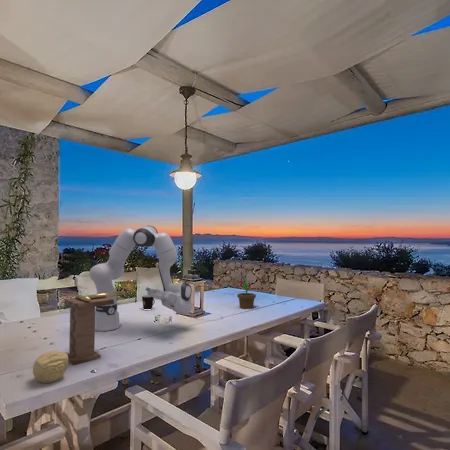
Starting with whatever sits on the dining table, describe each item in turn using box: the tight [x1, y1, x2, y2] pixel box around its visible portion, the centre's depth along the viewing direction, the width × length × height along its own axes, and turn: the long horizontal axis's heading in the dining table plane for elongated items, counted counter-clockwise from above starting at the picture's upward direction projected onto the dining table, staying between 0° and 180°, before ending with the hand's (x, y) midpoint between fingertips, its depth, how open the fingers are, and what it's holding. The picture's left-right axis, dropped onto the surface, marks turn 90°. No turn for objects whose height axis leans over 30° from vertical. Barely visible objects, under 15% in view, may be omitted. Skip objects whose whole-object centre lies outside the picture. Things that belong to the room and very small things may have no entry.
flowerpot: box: [236, 268, 257, 310], centre depth 262 cm, size 14×14×30 cm
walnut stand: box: [64, 297, 114, 366], centre depth 155 cm, size 16×17×26 cm
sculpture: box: [32, 349, 69, 384], centre depth 130 cm, size 11×12×11 cm
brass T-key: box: [74, 290, 126, 302], centre depth 161 cm, size 14×22×2 cm, turn 136°
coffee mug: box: [141, 294, 156, 309], centre depth 252 cm, size 12×9×10 cm
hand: (151, 289), depth 184 cm, fingers open, 8 cm apart
